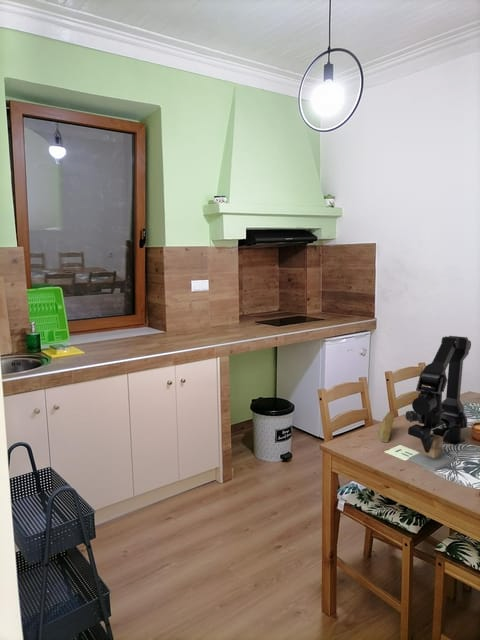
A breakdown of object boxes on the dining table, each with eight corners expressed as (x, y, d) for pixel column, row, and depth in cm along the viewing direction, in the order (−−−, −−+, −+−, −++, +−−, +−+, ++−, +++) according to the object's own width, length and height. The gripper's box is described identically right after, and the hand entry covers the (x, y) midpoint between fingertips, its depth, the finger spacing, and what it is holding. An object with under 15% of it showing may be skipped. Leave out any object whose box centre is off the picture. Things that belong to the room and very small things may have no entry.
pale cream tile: (400, 445, 170) (400, 444, 170) (421, 453, 163) (421, 453, 163) (384, 451, 165) (384, 451, 165) (405, 460, 158) (405, 460, 158)
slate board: (427, 451, 164) (427, 449, 164) (454, 461, 156) (454, 458, 155) (408, 460, 158) (408, 457, 158) (434, 471, 150) (435, 468, 149)
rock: (393, 440, 169) (406, 428, 176) (379, 420, 171) (392, 409, 178) (373, 449, 177) (386, 438, 183) (360, 430, 179) (373, 419, 185)
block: (429, 448, 160) (429, 432, 159) (442, 453, 156) (442, 436, 155) (420, 452, 157) (420, 436, 156) (433, 457, 153) (434, 440, 152)
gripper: (427, 394, 165) (426, 435, 168) (394, 406, 155) (394, 449, 158) (456, 402, 156) (455, 445, 159) (423, 415, 146) (422, 461, 148)
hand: (431, 450), depth 156 cm, fingers closed on block, 5 cm apart
